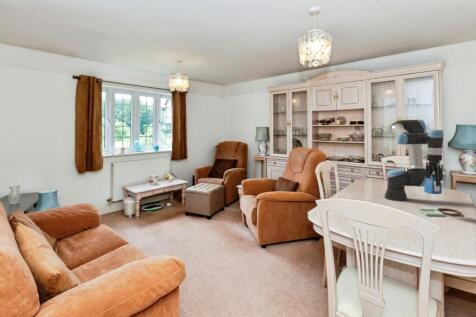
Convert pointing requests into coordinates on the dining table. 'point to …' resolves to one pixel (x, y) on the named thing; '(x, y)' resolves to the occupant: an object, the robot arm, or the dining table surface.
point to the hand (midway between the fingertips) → (432, 189)
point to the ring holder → (449, 213)
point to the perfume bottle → (432, 186)
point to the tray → (430, 212)
